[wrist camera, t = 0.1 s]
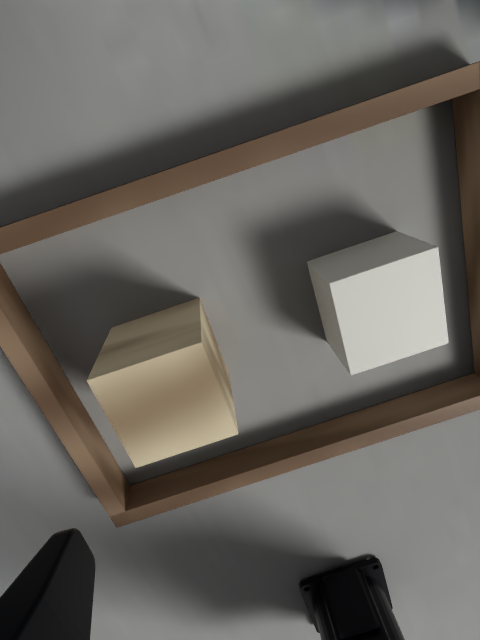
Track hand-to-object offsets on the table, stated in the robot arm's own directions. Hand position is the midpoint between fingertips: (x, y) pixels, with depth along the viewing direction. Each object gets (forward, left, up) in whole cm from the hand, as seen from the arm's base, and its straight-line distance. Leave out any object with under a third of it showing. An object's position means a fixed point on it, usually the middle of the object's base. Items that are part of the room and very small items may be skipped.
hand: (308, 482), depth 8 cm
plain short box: (-3, -6, -15) cm, 16 cm away
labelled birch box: (-3, +5, -15) cm, 16 cm away
